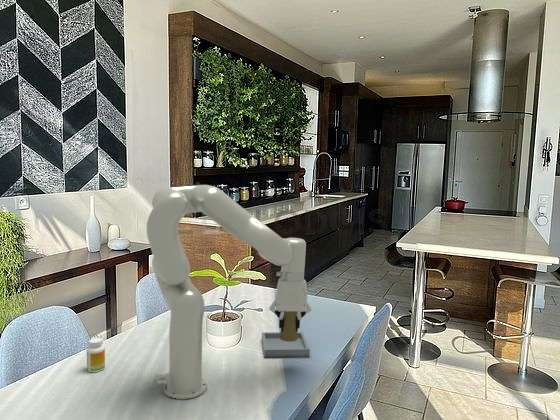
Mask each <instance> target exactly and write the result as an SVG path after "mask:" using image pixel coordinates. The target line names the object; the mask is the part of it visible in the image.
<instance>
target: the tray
mask: <svg viewBox="0 0 560 420" xmlns="http://www.w3.org/2000/svg"><path fill="white" fill-rule="evenodd" d="M280 332H281V331H278V332H277V331H276V332H275V331H274V332H272V331H271V332H268V331H267V332H266V331H265V332H264V331H263V332H261V344H262V351H263V357H264V358H263V359H291V358H292V359H293V358H294V359H298V358H306V359H307V358H310V355H311V354H310V349H311V348H310V346H309V345H308V342H307V339H306V336H305V334H304V332H303V331H298V332H297V340H296V341H292V342H288V341H283V340H281V339H280V338H279V337H280Z"/></svg>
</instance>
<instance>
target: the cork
mask: <svg viewBox="0 0 560 420" xmlns="http://www.w3.org/2000/svg"><path fill="white" fill-rule="evenodd" d="M296 316H297V312H284V316H283V317H284V328H283V332H282V331H281V330H280V331H279V332H280V337H279V338H280V339H281V340H283V341H288V342H292V341H296V340H297V332H296Z"/></svg>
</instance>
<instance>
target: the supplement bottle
mask: <svg viewBox="0 0 560 420" xmlns="http://www.w3.org/2000/svg"><path fill="white" fill-rule="evenodd" d="M88 345H89V346H88V347H87V348H86V370H87V372H88V373H100V372H102V371H103V370H104V369H106V368H105V367H106V350H105V348H106V347H105V345H104V344H103V339H102V338H100V337H94V338H90V339H89V341H88ZM101 370H102V371H101Z"/></svg>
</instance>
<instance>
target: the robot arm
mask: <svg viewBox="0 0 560 420" xmlns="http://www.w3.org/2000/svg"><path fill="white" fill-rule="evenodd" d="M151 199H152V201H151V203H152V204H151V206H152V210H151V211H150V213H149V216H148V217H147V218H148V219H147V222H146V229H145V230H146V235H147V236H146V237H147V239H148V240H147V241H148V244H149V247H150V250H151V253H152V261H151V264H152V265H151V266H152V269H153V273H154V275H155V278H156V281H157V285H158V286H159V290H160V292H161V294H162V297H163V299H164V301H165V303H166V304H167V307H168V308H169V310H170V319H169V320H170V321H169V328H168V329H169V331H168V332H169V333H168V334H169V335H168V338H169V339H168V342H169V344H168V347H169V349H168V350H169V353H168V354H169V357H168V358H169V359H168V360H169V362H168V363H169V366H168V367H169V369H168V373H165V374H155V375H153V377H154V378H153V381H154V382H156V385H157V386H159V385H160V386H161V385H163V392H164V394H165V395H166V396H168V397H169V398H171V397H172V399H175V398H176V399H177V400H188V399H193V398H196V397H199V396H201V395H202V394H203V393H205V391H206V390H207V387H208V383H207V381H206V380H205V379H204V378H203V376H202V375H203V373H202V372H203V369H202V368H203V367H202V366H203V323H204V314H205V307H206V306H205V305H206V304H205V299H204V296H203V295H202V292H201V291H200V290H199V289H198V288H197V286H195V285H194V284H193V283H192V281H191V277H190V274H191V266H190V262H189V259H188V257H187V254H186V252H185V248H184V246H183V243H182V240H181V237H180V233H179V225H180V222H181V221H182V219H183V218H184V216H185V215H186V214H193V213H203V214H204V215H205V216H206V217H208V218H209V219H211V220H212V221H213V222H214V223H216V224H217V225H218V226H219V227H221V228H223V230H224V231H226V232H227V233H229V234H230V235H231V236H232V237H234V238H235V239H238V240H239V241H241V242H243V243H245V244H247V245H249V246H250V247H252V248H253V249H255V250H256V251H257V253H258V255H259V256H260V257H261V258H262V259H263V260H265V261H267V262H269V263H271V264H274V265H275V266H280V267H281V269H280V271H276V276H277V277H280V278H278V281H277V285H276V291H275V299H274V300H273V301H272V303H271V304H270V306H269V311H271V313H274V315H275V316H277V317H278V328H279V329H280V332H281V331H282V332H283V328H284V317H283V316H284V312H297V315H296V332H299V331H298V329H300V327H301V320H302V318H303V317H305V316H306V315H307V314H309V313H311V311H312V308H311V306H310V305H309V303H308V286H307V280H306V279H305V265H306V252H307V249H306V248H307V242H306V241H305V239H303V238H299V237H286V238H284V237H281V236H280V235H279V234H278V233H276V232H275V231H274V230H272V229H271V228H270V227H268V226H267V225H266V224H264V223H263V222H261V221H260V220H259V219H258V218H257V217H255V216H254V215H252V214H251V213H250V212H249V211H247V210H246V209H245V208H244V207H242V206H241V205H239V203H238V202H236V201H235V200H234V199H233V198H232V197H230V196H229V195H228V194H227V193H225V192H224V191H223V190H222V189H220V188H219V187H217V186H212V185H210V184H209V185H208V184H196V185H187V186H172V187H163V188H161V189H159V190H157V191H156V192H155V193H154V194H153V197H152V198H151ZM176 399H175V400H176Z"/></svg>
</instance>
